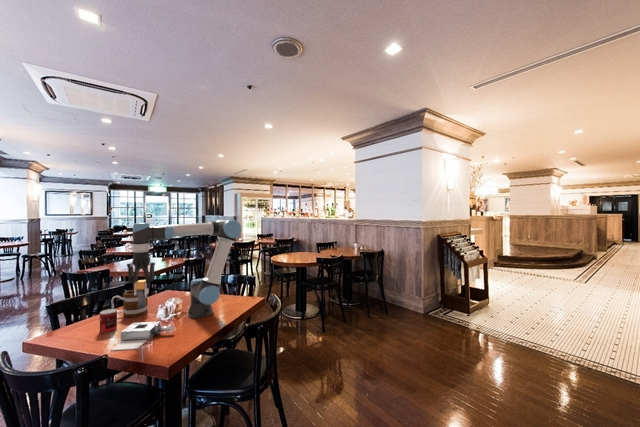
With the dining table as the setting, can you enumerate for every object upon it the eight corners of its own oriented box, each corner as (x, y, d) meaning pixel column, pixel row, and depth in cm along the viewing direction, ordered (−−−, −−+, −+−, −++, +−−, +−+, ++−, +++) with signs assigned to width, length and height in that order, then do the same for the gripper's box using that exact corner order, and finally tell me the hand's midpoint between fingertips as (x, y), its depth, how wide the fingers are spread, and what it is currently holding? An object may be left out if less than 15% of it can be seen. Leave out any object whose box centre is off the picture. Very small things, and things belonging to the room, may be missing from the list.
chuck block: (176, 329, 157) (176, 319, 157) (168, 338, 145) (168, 328, 145) (133, 331, 154) (133, 322, 154) (120, 341, 142) (120, 330, 142)
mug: (147, 309, 191) (147, 287, 191) (148, 315, 180) (148, 292, 180) (112, 315, 180) (112, 292, 180) (110, 322, 169) (110, 297, 169)
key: (144, 307, 148) (143, 281, 148) (135, 308, 147) (134, 282, 147) (148, 305, 152) (147, 279, 152) (139, 305, 151) (139, 280, 151)
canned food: (105, 328, 160) (105, 309, 160) (120, 327, 160) (120, 308, 161) (96, 333, 152) (96, 313, 152) (111, 333, 153) (111, 313, 153)
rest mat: (146, 340, 143) (146, 339, 143) (137, 349, 134) (137, 348, 134) (121, 342, 142) (121, 341, 142) (110, 350, 133) (110, 349, 133)
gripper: (161, 250, 154) (161, 291, 154) (127, 250, 152) (128, 293, 152) (155, 251, 147) (155, 295, 147) (119, 252, 145) (119, 297, 145)
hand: (141, 294), depth 149 cm, fingers closed on key, 4 cm apart
